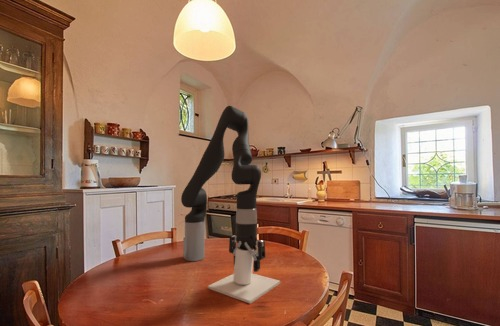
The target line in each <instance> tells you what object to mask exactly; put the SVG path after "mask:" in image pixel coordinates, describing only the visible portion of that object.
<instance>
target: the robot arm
mask: <svg viewBox="0 0 500 326" xmlns="http://www.w3.org/2000/svg"><path fill="white" fill-rule="evenodd" d="M227 129H230V130H232V131H233V132H236V133H237V137H236V138H235V139H234V141H233V142H232V146H231V147H232V148H231V150H232V156H233V166H232V171H231V180H232V182H233V183H234V184H236V185H240V186H242V185H249V187H248V188H247V189H246V190H242V191H239V192H237V193H236V210H235V211H236V213H235V234H234V235H231V236H229V239H228V240H229V244H228V245H229V246H228V252H229V253H230V254H232V256H233V266H235V254H236V250H237V247H238V248H241V249H244V250H248V251H249V253H250V254H251V255H252V256H253V272H255V273H257V272H259V271H260V270H261V261H262V260H264V259H265V258H266V244H265V242H266V241H265V240H264V239H262V240H259V239H257V235H258V212H257V196H258V195H257V194H258V189H259V187H260V182H261V179H262V171H261V168H260V167H259V165H257V164H251V163H252V161H253V155H252V151H251V148H250V147H251V146H250V141H249V137H250V136H249V135H250V133H249V130H250V129H249V117H248V115H247V114H246V113H245V112H244V111H242V110H240V109H238V108H236V107H235V106H233V105H227V106H226V107H225V108H224V109H223V111H222V113H221V114H220V117H219V120H218V123H217V125H216V127H215V129H214V133H213V135H212V137H211V138H210V141H209V143H208V144H207V147H206V149H205V151H204V153H203V154H202V157H201V159H200V161H199V163H198V165H197V167H196V169H195V171H194V173H193V175H192V177H191V178H190V179H189V182H188V183H187V184H186V185H185V188H184V189H183V191H182V193H181V197H180V198H181V199H180V202H181V204H182V206H183V207H185V208H188V209H189V208H190V209H191V210H190V211H189V213H187V214H186V215H185V216H184V237H183V241H182V242H183V244H182V245H183V246H182V247H183V248H182V249H183V252H182V253H183V254H182V258H183V259H184V261H187V262H196V261H197V262H198V261H201V260H204V259H205V238H206V237H205V235H206V234H205V232H206V231H205V221H206V219H205V218H206V215H207V209H208V208H207V207H208V206H207V205H208V195H207V191H206V190H205V189H204V188H203V186H204V185H205V184H206V183H207V182H208V180H210V179H211V178H213V176H214V175H215V174H216V173H217V172H218V171H219V169H220V168H221V165H222V164H223V162H224V160H225V146H224V137H225V133H226V130H227Z"/></svg>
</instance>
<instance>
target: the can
mask: <svg viewBox="0 0 500 326" xmlns="http://www.w3.org/2000/svg"><path fill="white" fill-rule="evenodd" d="M233 266H234V265H233ZM233 268H234V269H233V274H234V282H235V283H236V284H239V285H248V284H250V283H251V281H252V273H253V271H254V258H253V256H252V255H251V254H250V253H249V251H248V250H244V249H241V248H238V247H237V250H236V254H235V266H234V267H233Z"/></svg>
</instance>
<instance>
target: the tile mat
mask: <svg viewBox="0 0 500 326" xmlns="http://www.w3.org/2000/svg"><path fill="white" fill-rule="evenodd" d="M280 284H281V280H278V279H275V278H271V277H267V276H262V275H260V274H257V273H253V272H252V281H251V283H250V284H248V285H239V284H236V283H235V282H234V273H232V274H230V275H228V276H226V277H223V278H221V279H220V280H217V281H216V282H214V283H211V284H209V285H208V286H207V289H208V290H212V291H214V292H217V293H219V294H222V295H226V296H228V297H231V298H232V299H233V298H234V299H236V300H239V301H241V302H244V303H248V304H253V302H255V301H257V300H258V299H260V298H261V297H262V296H264V295H265V294H267V293H269V292H270V291H271V290H273V289H274V288H275V287H277V286H278V285H280Z"/></svg>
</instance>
